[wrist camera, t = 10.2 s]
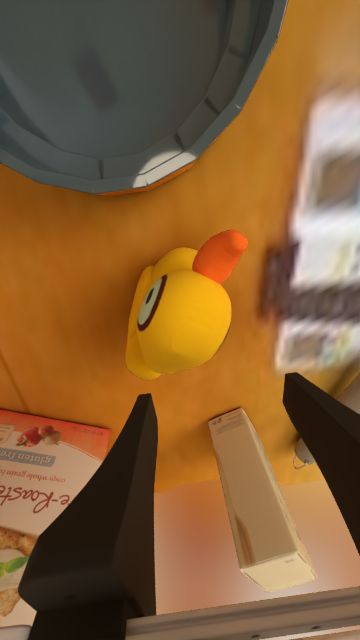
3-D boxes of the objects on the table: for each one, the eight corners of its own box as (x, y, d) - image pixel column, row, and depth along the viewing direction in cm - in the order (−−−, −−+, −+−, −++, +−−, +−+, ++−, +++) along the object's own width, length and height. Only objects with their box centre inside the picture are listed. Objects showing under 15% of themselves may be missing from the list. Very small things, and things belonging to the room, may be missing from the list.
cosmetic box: (206, 419, 27) (235, 569, 16) (241, 404, 26) (298, 550, 15) (227, 451, 30) (265, 597, 19) (260, 438, 29) (320, 582, 18)
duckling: (175, 199, 17) (189, 198, 8) (237, 237, 18) (308, 272, 9) (114, 327, 21) (79, 420, 12) (169, 349, 22) (173, 448, 14)
